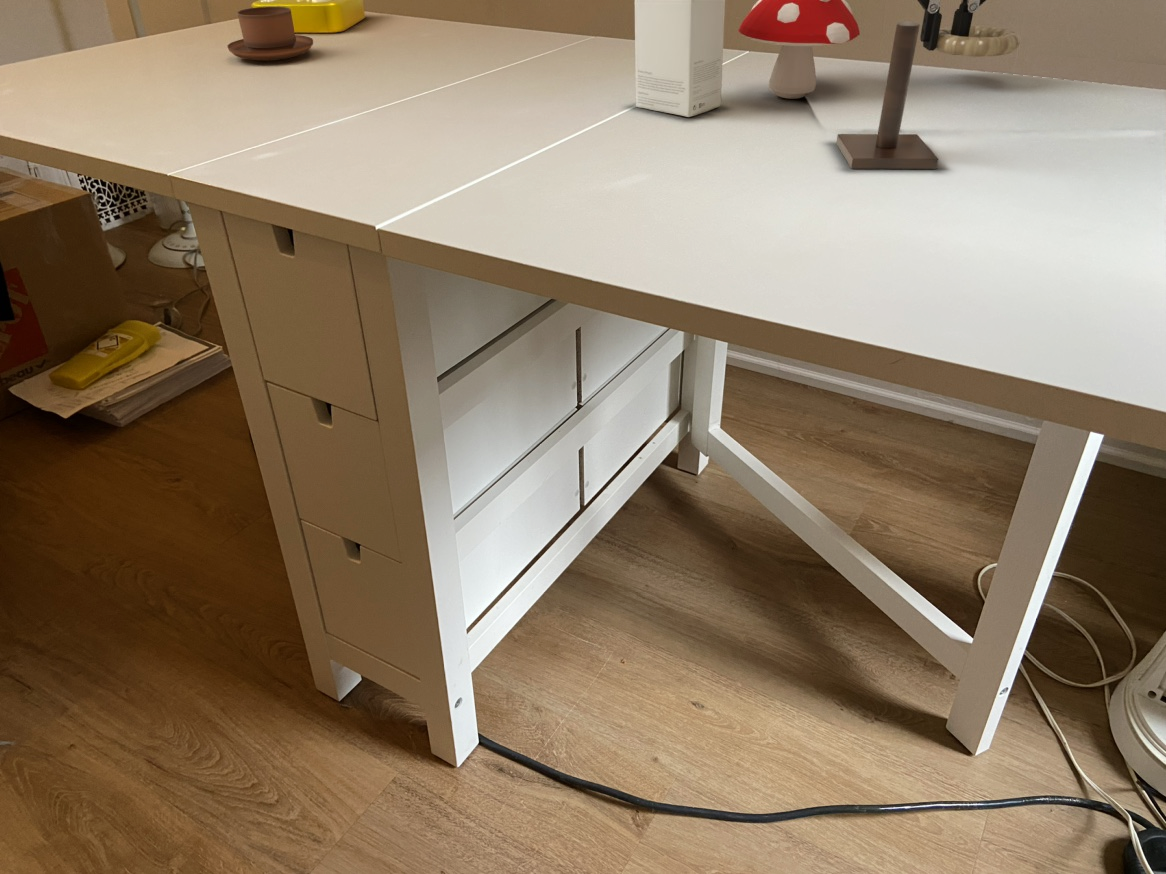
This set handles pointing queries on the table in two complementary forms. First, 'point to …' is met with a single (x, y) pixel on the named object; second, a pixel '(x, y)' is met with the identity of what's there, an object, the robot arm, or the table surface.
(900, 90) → the peg
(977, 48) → the ribbed beige ring
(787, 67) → the decorative mushroom
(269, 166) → the table surface
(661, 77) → the cosmetic box
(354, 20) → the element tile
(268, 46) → the cup and saucer
